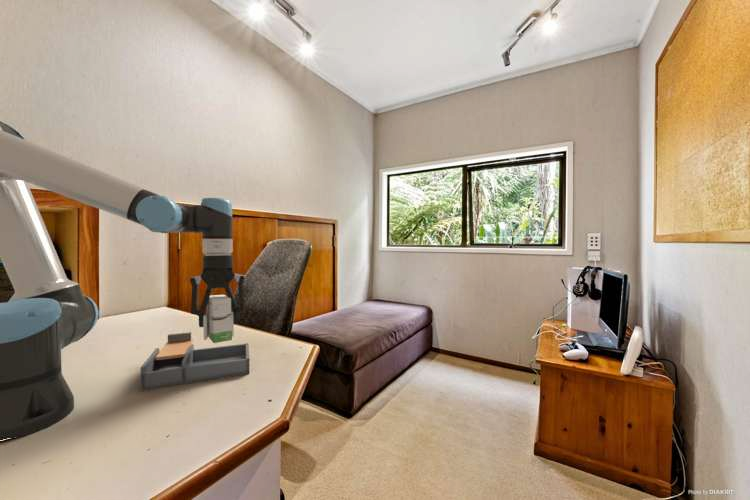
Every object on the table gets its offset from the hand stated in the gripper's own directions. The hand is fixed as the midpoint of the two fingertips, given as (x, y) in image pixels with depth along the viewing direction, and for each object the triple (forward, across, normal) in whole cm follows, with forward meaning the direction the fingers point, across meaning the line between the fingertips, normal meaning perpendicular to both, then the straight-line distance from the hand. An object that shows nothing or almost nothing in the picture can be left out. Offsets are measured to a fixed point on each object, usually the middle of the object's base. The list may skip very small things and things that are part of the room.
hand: (219, 336), depth 86 cm
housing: (+9, -4, 0) cm, 10 cm away
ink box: (+1, 0, 0) cm, 1 cm away
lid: (+5, -12, +8) cm, 15 cm away
